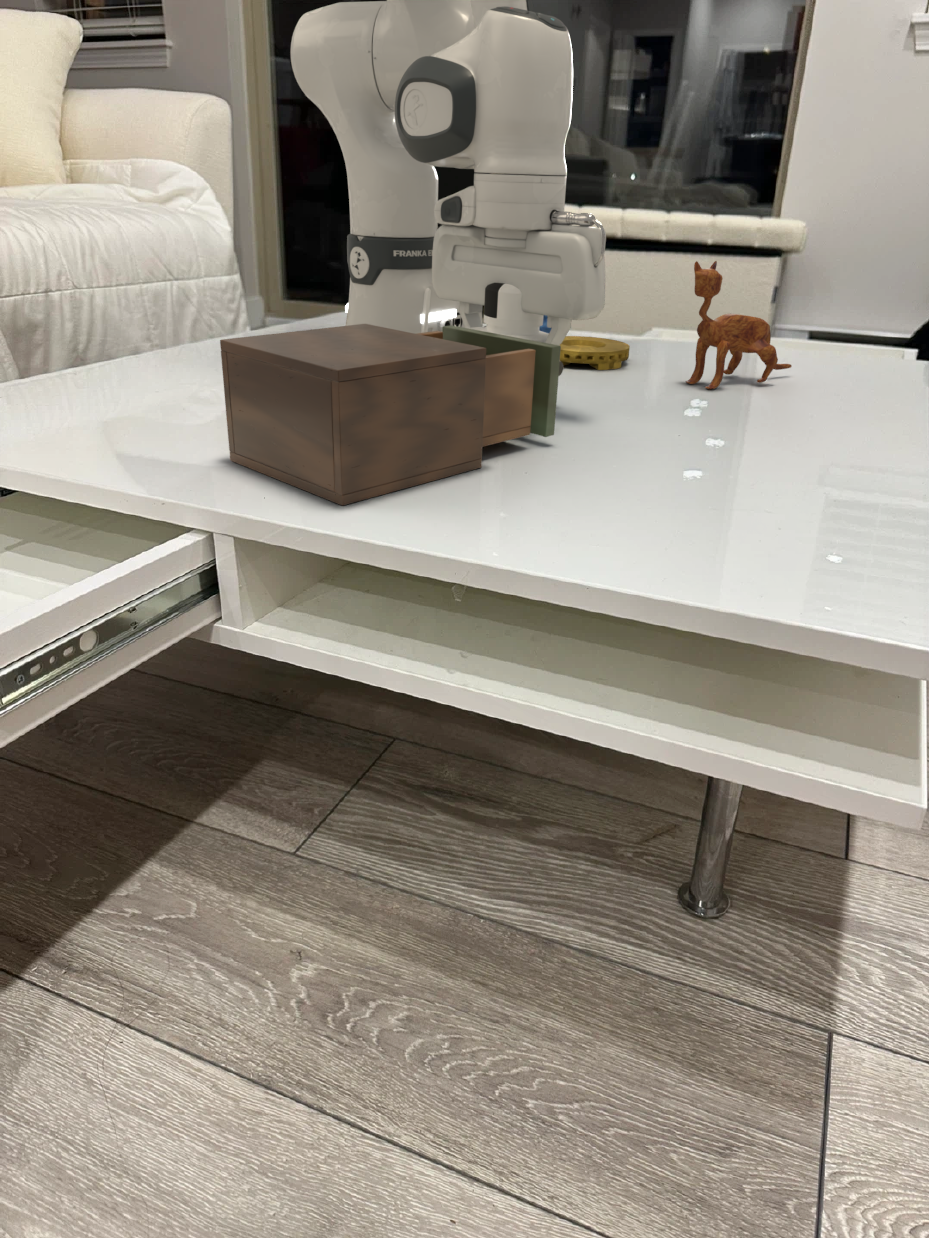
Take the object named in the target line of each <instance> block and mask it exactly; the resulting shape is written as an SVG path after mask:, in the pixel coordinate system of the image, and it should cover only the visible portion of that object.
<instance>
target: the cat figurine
mask: <svg viewBox="0 0 929 1238" xmlns="http://www.w3.org/2000/svg"><path fill="white" fill-rule="evenodd" d="M717 266H718V262H717V260H715V261H714V262H713V263H712V264H711V266H710V267H709V268H702V267H701V265H700V263H699V261H697V260H696V261H695V262H694V264H693V273H694V295H695V296H697V297H700V298H703V299H704V300H703V303H702V304H701V306H700V308H699V311H698V315H699V317H700V318H701V319H702V320H701V321H700V323H699V324H698V325H697V328H696V333H697V336H698V337H699V338H698V339H697V341H696V348H695V365H694V369H693V372H692V375H691V376H690V377H689V378H688V379H687V380H685V383H686V384H689V385H695V384H697V383H699V382H700V381H701V379H703V375H704V372H705V365H706V355H707V352H708V350H709V348H710V347H713V348H716V357H715V372H714V376H713V378H712V380H711V382H710V384H708V385H707V386H705V387H704V388H705V389H707V390H715V389H717V388H718V387H719V386H720V385H721V383H722V381H723V378H724V375H728V376H729V375H733V373H734V372H735V370H736V369H737V368H738V366H739V365H740V364H741V362H742V360H743V353H744V354H757V356H758V357H759V359H760V360H761V362H763V363H764V365H765V368H764V370H763V372H762V374H761V377H760V378H757V380H756V383H757V384H759V383H760V384H761V383H765V382H766V381H767V379H768V377H769V376H770V374H771V373H772V372H773V370H775V371H780V370H786V369H791V368H792V364H790V363H778V361H779V358H778V354H777V349H776V347H775V346H774V345H773V344H771V338H772V334H771V333H772V332H771V326H770V324H769V323H768V322H767V321H766V320H764V319H763V318H761V317H757V316H752V315H745V314H739V313H732V312H731V313H724V314H722V315H720V316H718V317H716V318H714V319H712V318H711V317H709V315H708V314H707V313H708V312H709V309H710V306H711V304H712V301H713V300H712V299H713V298H714V297H715V296H717V295H719V294H720V293H721V289H722V283H723V275H722V274H721V273H719V271H718V270H716V269H717ZM728 352H729V353H730V354H731V358H730V360H729V362H728V365H727V368H726V369H725V366H726V365H725V364H726V358H727V355H728Z"/></svg>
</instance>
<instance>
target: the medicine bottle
mask: <svg viewBox="0 0 929 1238" xmlns="http://www.w3.org/2000/svg"><path fill="white" fill-rule="evenodd" d="M521 296H522V293H521V291H520V290H519V289H518V288H516V287H515V286H513V285H510V284H504V283H492V284H489V285H487V286H486V288H485V303H484V305H483V306H484V307H483V324H485V326H486V327H484V326H483V327H472V328H469V329H474V330H479V331H484V332H490V333H495V334H500V335H506V336H511V337H517V338H522V339H527V340H533V341H538V342H543V343H545V341H546V339H547V337H548V335H549V334H548V333H545V332H542V331H539V327H540V326H542V325H543V315H540V314H533V313H527V312H524V311H522V307H521Z"/></svg>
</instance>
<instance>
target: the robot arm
mask: <svg viewBox="0 0 929 1238" xmlns="http://www.w3.org/2000/svg"><path fill="white" fill-rule="evenodd" d="M533 6H534V5H533V0H375V1H371V0H370V1H339V2H336V3H332V4H329V5H328V4H327V5H325V6H322V7H319V8H316V9H313V10H310V11H307V12H305V13H303V14H302V15H301V17H300V18H299V19H298V21H297V23H296V25H295V27H294V29H293V32H292V36H291V42H290V62H291V63H290V64H291V68H292V72H293V75H294V78H295V80H296V82H297V85H298V86H299V88H300V89H301V91H302V92H303V94H304V96H305V97H307V99H308V100H309V101H311V102H312V103H313V104H314V105H315V106H316V107H317V108H318V109H319V110H320V112H321V113H322V114H323V115H324V118H325V119H326V120H327V121H328V123H329V125H330V127H331V128H332V130H333V132H334V134H335V136H336V139H337V141H338V144H339V146H340V150H341V152H342V156H343V161H344V163H345V164H344V165H345V169H346V170H345V171H346V176H347V177H346V179H347V189H348V199H349V200H348V202H349V203H348V204H349V225H350V226H349V227H350V228H349V229H350V232H349V234H347V236H346V238H347V239H346V255H347V256H346V260H347V262H346V263H347V267H348V272H349V292H348V302H347V303H346V305H345V306H344V310H345V311H344V312H345V313H346V320H345V325H344V326H349V325H358V324H369V325H374V326H379V327H384V328H389V329H394V330H399V331H404V332H409V333H414V334H417V333H425V332H433V331H440V332H442V328H443V326H450V325H452V326H458V327H463V328H468V329H469V328H472V327H486V326H487V325H484V320H483V306H484V303H485V288H486V286H487V285H489V284H492V283H504V284H510V285H513V286H515V287H516V288H518V289H519V290H520V291H521V293H522V296H521V307H522V311H524V312H527V313H533V314H540V315H546V316H548V317H547V327H548V328H552V329H551V331H550V333H549V335H548V337H547V339H546V341H545V343H549V344H554V345H559V346H560V344H561V343H562V341H563V340H564V338H565V337H566V336H568V333H569V332H570V330H571V329H572V321H586V320H593V319H596V318H598V316H599V315H600V314H601V313H602V311H603V310H604V308H605V304H606V259H605V253H606V242H607V232H606V229H605V228H604V226H603V224H602V222H600V221H599V219H597V218H596V216H595V215H594V214H592V213H590V212H580V213H576V212H572V211H565V208H566V207H565V206H566V205H565V204H566V193H567V192H566V191H567V176H568V168H567V163H566V157H565V156H566V155H565V147H566V146H565V145H566V140H567V136H568V133H569V130H570V127H571V121H572V108H573V90H574V89H573V88H574V87H573V86H574V63H573V60H574V59H573V48H572V41H571V36H570V32H569V29H568V27H567V26H566V25H565V24H564V22H563V21H562V20H560V19H559V18H557V17H555V16H553V15H550V14H549V15H548V14H545V13H541V12H537V11H536V12H535V11H534V7H533ZM436 167H438V168H455V169H460V170H473V172H474V173H473V185H469V186H467V187H466V188H463V189H461V190H459V191H457V192H455V193H453V194H450V195H447V196H446V197H442V198H440V199H439V176H438V172H437V169H436ZM438 225H440V226H438ZM594 225H595V226H594ZM483 325H484V326H483Z"/></svg>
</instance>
